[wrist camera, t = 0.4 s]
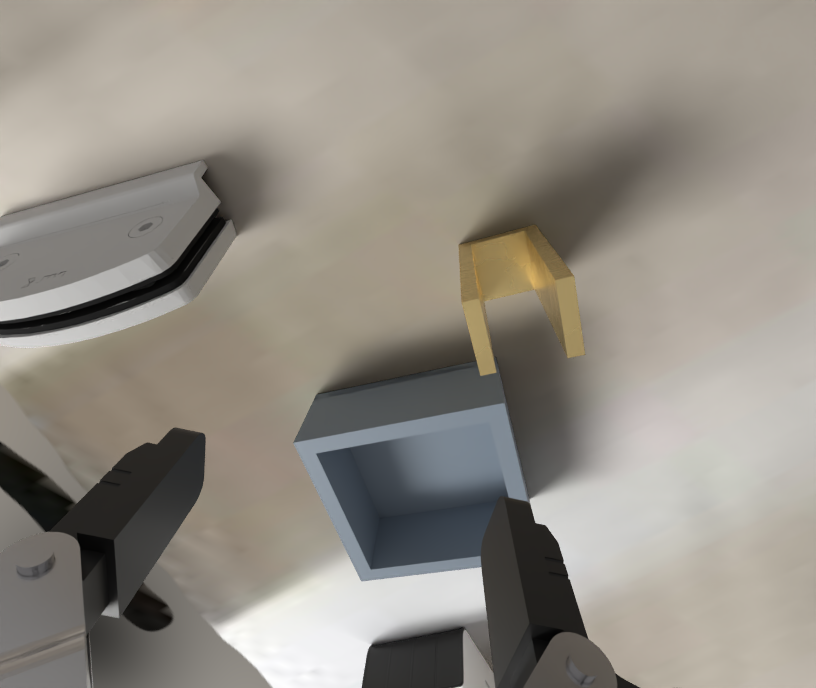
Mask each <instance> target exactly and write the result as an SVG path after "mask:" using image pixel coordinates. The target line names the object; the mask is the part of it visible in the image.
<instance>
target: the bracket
mask: <svg viewBox="0 0 816 688" xmlns="http://www.w3.org/2000/svg"><path fill="white" fill-rule="evenodd" d="M459 262H460V281H461V299H462V306H463V310H464V314H465V317H466V321H467V325H468V329H469V333H470V337H471V341H472V345H473V349H474V353H475V357H476V360H477V364H478V368H479V372H480V376H483V375H488V374H492V373H497V372H496V367H495V361H494V355H493V349H492V344H491V338H490V332H489V326H488V321H487V315H486V309H485V303H484V301H488V300H492V299H496V298H500V297H505V296H509V295H513V294H517V293H522V292H526V291H530V290H534V289H535V291H536V293H537V295H538V297H539V299H540V301H541V303H542V305H543V307H544V309H545V312H546V314H547V316H548V318H549V320H550V322H551V324H552V326H553V328H554V330H555V333H556V335H557V337H558V339H559V341H560V343H561V345H562V347H563V349H564V351H565V354H566V356H567V358H571V357H576V356H581V355H585V350H584V343H583V336H582V329H581V322H580V315H579V308H578V300H577V293H576V286H575V279H574V275H573V274H572V273H571V271H570V270H569V269H568V267H567V266H566V265H565V263H564V262H563V261H562V259H561V258H560V257H559V255H558V254H557V253H556V251H555V250H554V249H553V248H552V246H551V245H550V244H549V242H548V241H547V240H546V238H545V237H544V236H543V234H542V233H541V232H540V230H539V229H538V228H537V226H536V225H532V226H528V227H524V228H521V229H517V230H513V231H509V232H505V233H502V234H498V235H494V236H490V237H486V238H483V239H479V240H475V241H471V242H467V243H464V244H460V245H459Z"/></svg>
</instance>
